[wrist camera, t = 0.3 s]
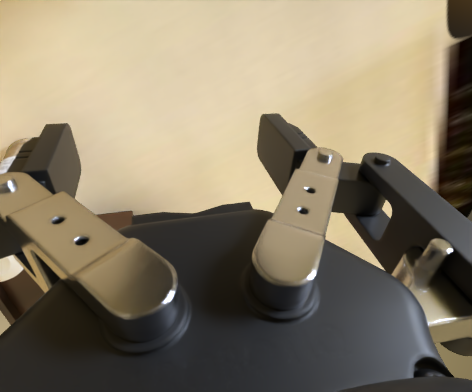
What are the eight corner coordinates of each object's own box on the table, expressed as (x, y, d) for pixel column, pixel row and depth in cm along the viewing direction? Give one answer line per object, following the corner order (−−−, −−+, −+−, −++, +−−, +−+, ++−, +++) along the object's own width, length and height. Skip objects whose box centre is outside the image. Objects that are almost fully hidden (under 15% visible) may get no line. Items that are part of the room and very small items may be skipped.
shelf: (-14, 227, 33) (-59, 311, 25) (132, 210, 36) (132, 279, 29) (31, 302, 41) (8, 382, 33) (146, 282, 45) (148, 350, 37)
